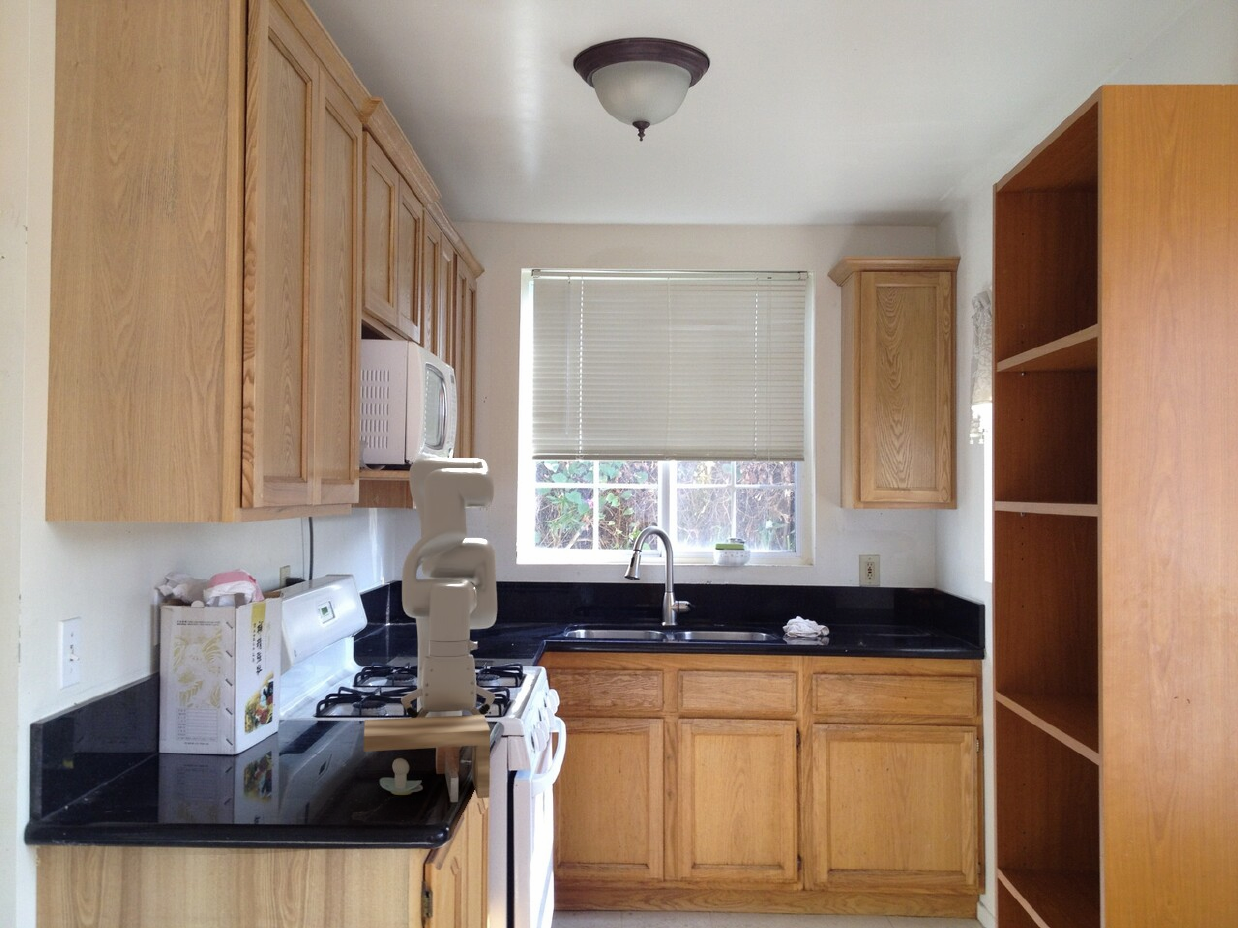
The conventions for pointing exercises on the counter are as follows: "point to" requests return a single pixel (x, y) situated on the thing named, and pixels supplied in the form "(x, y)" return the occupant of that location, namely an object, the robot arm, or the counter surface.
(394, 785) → the pacifier
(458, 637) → the robot arm
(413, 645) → the counter surface
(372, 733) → the oak shelf
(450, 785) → the orange-brown mallet
